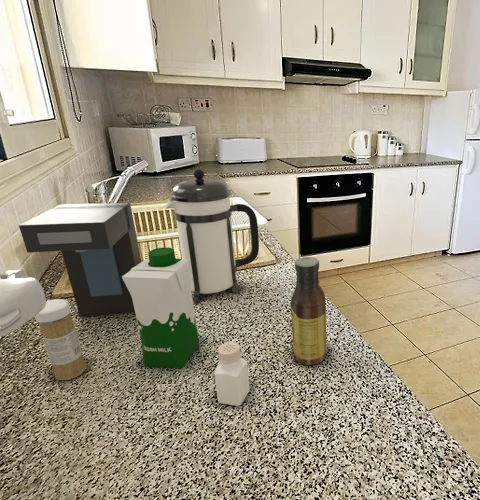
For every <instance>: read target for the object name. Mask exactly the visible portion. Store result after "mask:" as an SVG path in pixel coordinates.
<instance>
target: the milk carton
mask: <svg viewBox="0 0 480 500" xmlns="http://www.w3.org/2000/svg"><path fill="white" fill-rule="evenodd" d="M147 255H148V256H147V257H148V258H145V259H144V260H143V261H142V262H141V263H140V264H138V265H137V266H135V267H133V268H132V269H131V270H130V271H129V272H128V273H126V274H125V275H124V276H122V279H123V280H124V282H125V284H126V286H127V288H128V290H129V292H130V294H131V296H132V300H133V305H134V309H135V312H134V314H135V317H136V323H137V328H138V331H139V337H140V343H141V350H142V358H143V367H149V368H150V367H153V368H168V369H169V368H172V369H183V368H184V367H185V365H186V364H187V362H189V360H190V358H191V357H192V356H193V354H194V353H195V351H196V350H197V348H198V347H199V346H200V340H199V334H198V333H199V332H198V327H197V320H196V314H195V313H196V312H195V307H194V306H195V305H194V302H193V294H192V292H193V291H191V285H190V271H189V260H188V259H182V258H176V255H175V250H174V248H172V247H167V246H166V247H165V246H164V247H158V248H154V249H151V250H150V251H148V252H147Z"/></svg>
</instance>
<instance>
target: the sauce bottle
mask: <svg viewBox="0 0 480 500" xmlns="http://www.w3.org/2000/svg"><path fill="white" fill-rule="evenodd" d="M319 269H320V260H319V259H318V258H316V257H313V256H303V257H298V258H297V259H296V260H295V261H294V270H295V272H296V274H295V275H296V282H295V283H296V285H295V287H294V291H293V294H292V296H291V299H290V316H291V317H290V319H291V320H290V321H291V338H292V340H291V341H292V352H293V354H294V355H293V356H294V359H295V360H296V362H298V363H299V364H300V365H306V366H314V365H318V364H319V363H321V362H323V360H325V358H326V356H327V348H328V344H327V343H328V341H327V340H328V339H327V337H328V336H327V335H328V334H327V333H328V332H327V306H326V295H325V291H324V289H323V288H322V286H321V285H319V284H320V280H319Z"/></svg>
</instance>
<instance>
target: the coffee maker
mask: <svg viewBox="0 0 480 500" xmlns="http://www.w3.org/2000/svg"><path fill="white" fill-rule="evenodd" d="M18 228H19V230H20V234H21V237H22V241H23V243H24V247H25V250H26V253H27V254H28V253H49V252H50V253H51V252H61V255H62V258H63V262H64V265H65V269H66V273H67V276H68V279H69V283H70V287H71V291H72V294H73V297H74V301H75V305H76V309H77V311H78V315H79V318H81V317H94V316H106V315H108V316H109V315H120V314H129V313H130V314H131V313H132V314H133V313H135V309H134V305H133V300H132V296H131V294H130V292H129V290H128V288H127V286H126V284H125V282H124V280H123V279H122V276H124V275H125V274H126V273H128V272H129V271H130V270H131V269H132V268H133V267H135V266H137V265H138V264H140V263H141V262H143V261H142V256H141V251H140V246H139V241H138V240H139V239H138V236H137V231H136V226H135V220H134V216H133V211H132V205H131V202H106V203H105V202H101V203H65V204H62V203H61V204H58V205H56V206H53V207H52V208H50V209H48V210H46V211H45V212H43V213H41V214H39V215H36V216H35V217H33V218H30V219H28V220H27V221H25V222H23V223H20V224H19V225H18Z"/></svg>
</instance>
